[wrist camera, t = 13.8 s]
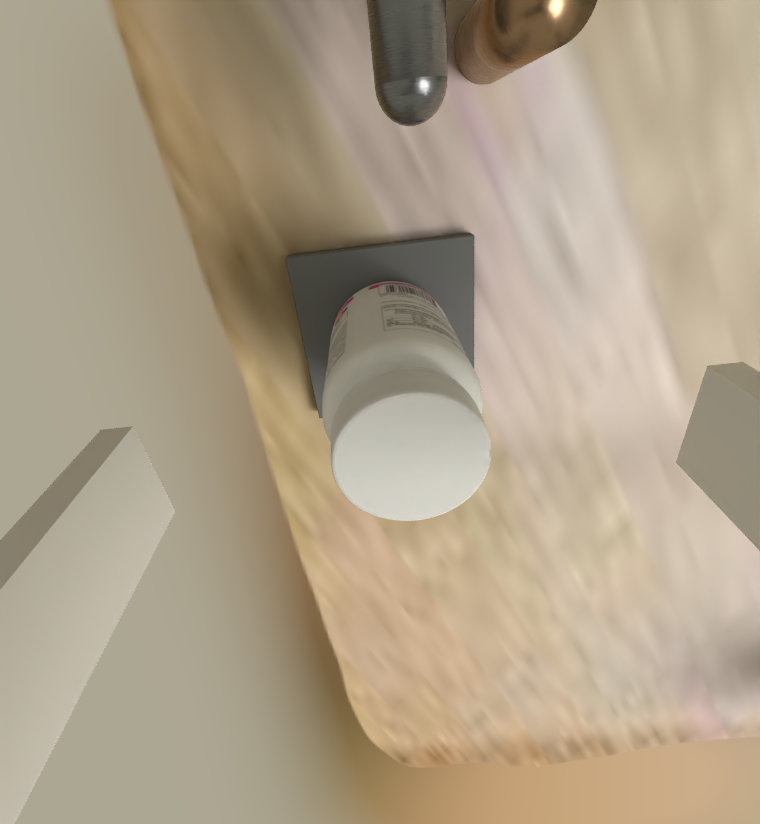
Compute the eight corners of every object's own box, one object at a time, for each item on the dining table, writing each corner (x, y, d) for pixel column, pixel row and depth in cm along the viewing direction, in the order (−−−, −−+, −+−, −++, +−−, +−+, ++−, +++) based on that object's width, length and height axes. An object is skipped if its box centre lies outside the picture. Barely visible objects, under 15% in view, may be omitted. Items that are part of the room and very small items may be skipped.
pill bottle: (372, 407, 20) (378, 557, 12) (308, 320, 17) (270, 441, 10) (468, 353, 18) (537, 484, 11) (411, 254, 16) (452, 336, 9)
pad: (287, 255, 17) (285, 258, 16) (470, 233, 16) (474, 235, 16) (320, 411, 20) (319, 418, 20) (470, 394, 20) (473, 400, 20)
